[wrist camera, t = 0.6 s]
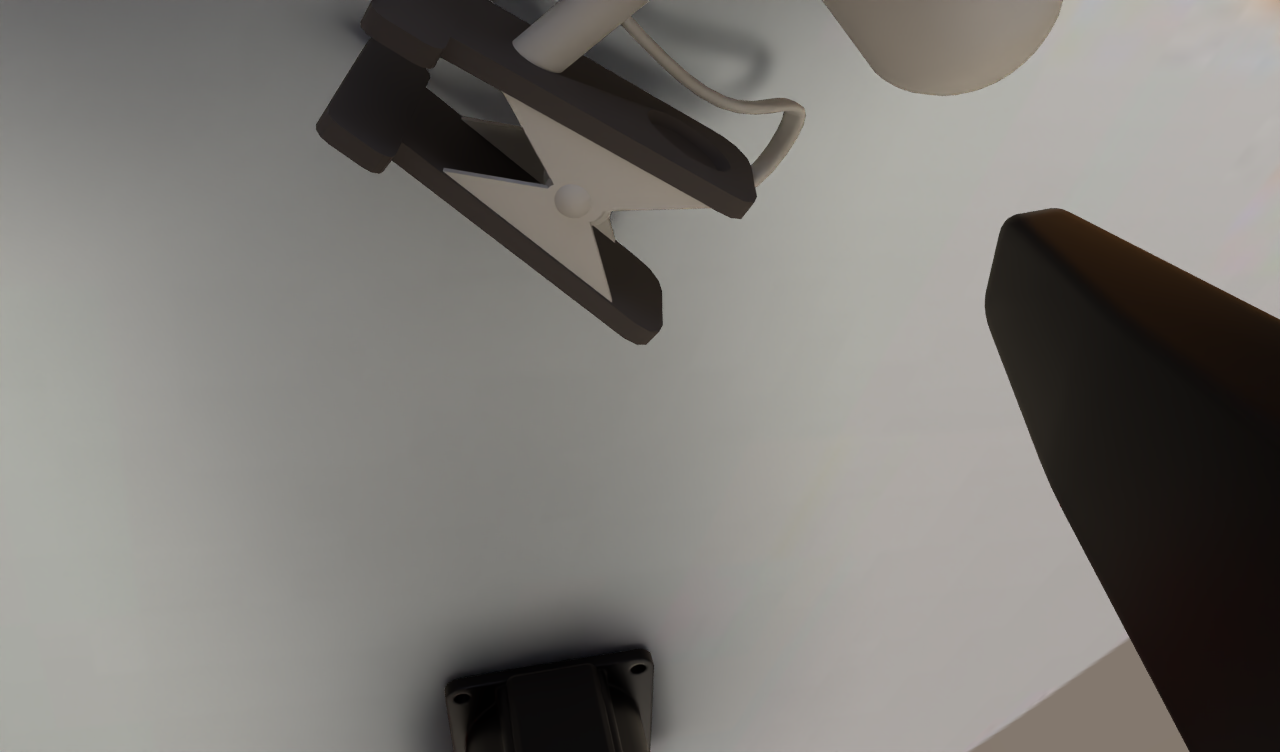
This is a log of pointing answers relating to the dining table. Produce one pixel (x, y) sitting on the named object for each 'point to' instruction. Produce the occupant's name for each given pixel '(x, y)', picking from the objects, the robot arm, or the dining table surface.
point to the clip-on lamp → (615, 122)
